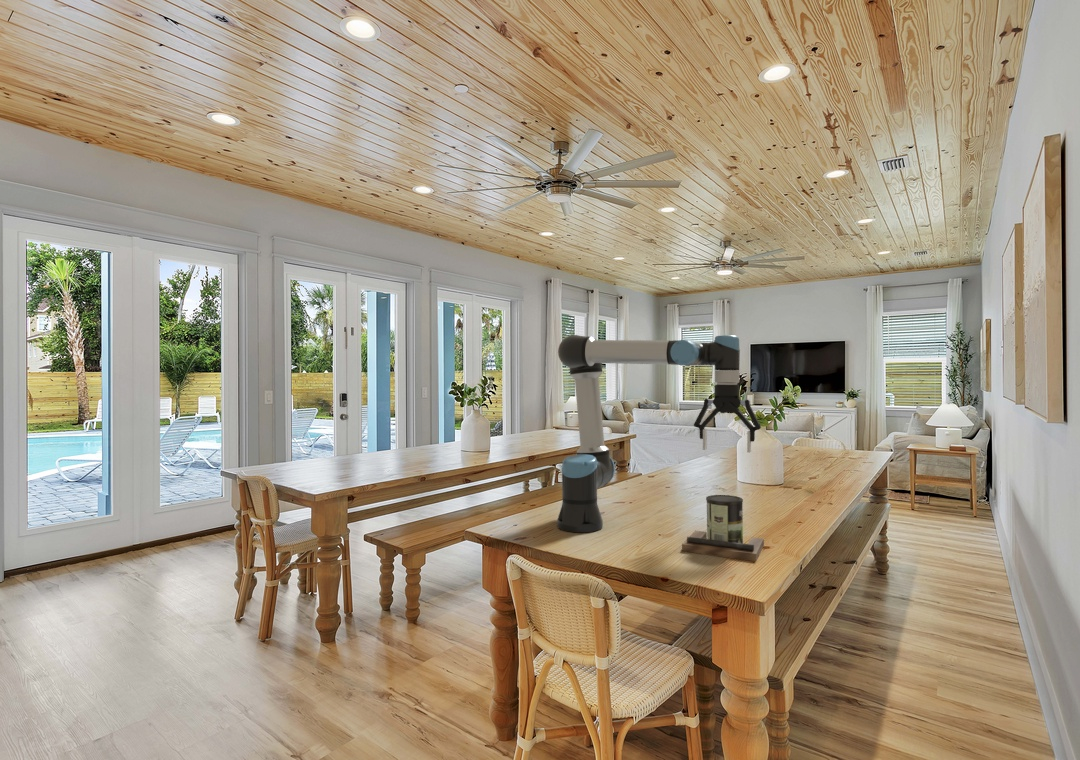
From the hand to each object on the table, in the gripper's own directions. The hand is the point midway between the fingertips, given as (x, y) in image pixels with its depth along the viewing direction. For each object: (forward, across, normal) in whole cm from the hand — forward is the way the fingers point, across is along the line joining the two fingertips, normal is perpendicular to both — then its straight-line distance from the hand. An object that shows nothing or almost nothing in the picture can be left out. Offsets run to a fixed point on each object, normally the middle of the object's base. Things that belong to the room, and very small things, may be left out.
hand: (726, 450), depth 180 cm
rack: (+26, -2, +18) cm, 32 cm away
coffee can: (+26, -2, +15) cm, 30 cm away
